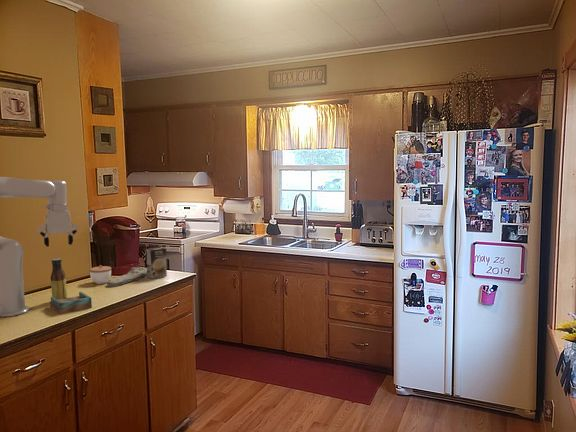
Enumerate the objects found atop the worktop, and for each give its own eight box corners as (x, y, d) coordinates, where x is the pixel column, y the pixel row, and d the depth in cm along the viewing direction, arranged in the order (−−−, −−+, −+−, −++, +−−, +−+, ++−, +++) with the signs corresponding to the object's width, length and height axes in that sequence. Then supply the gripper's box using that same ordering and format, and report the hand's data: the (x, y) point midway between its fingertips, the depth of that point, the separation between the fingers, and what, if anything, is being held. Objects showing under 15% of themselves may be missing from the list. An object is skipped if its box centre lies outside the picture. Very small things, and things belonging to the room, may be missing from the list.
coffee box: (151, 279, 256) (150, 250, 254) (146, 276, 261) (145, 248, 259) (167, 276, 262) (166, 248, 260) (162, 274, 267) (161, 246, 265)
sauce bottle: (62, 298, 219) (59, 257, 217) (70, 300, 216) (68, 258, 213) (49, 302, 213) (46, 259, 211) (57, 304, 210) (54, 260, 208)
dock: (60, 313, 196) (59, 303, 195) (50, 306, 206) (50, 296, 206) (91, 307, 205) (91, 297, 204) (81, 300, 215) (80, 291, 214)
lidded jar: (88, 285, 242) (87, 267, 241) (92, 280, 253) (91, 263, 252) (110, 284, 244) (109, 267, 243) (113, 279, 255) (112, 262, 254)
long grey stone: (101, 289, 241) (117, 291, 238) (101, 279, 240) (117, 282, 237) (142, 271, 274) (157, 273, 271) (142, 262, 273) (157, 264, 270)
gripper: (38, 209, 202) (39, 248, 204) (80, 207, 213) (81, 244, 215) (34, 208, 208) (35, 245, 209) (75, 206, 219) (76, 242, 220)
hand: (58, 245), depth 212 cm, fingers open, 9 cm apart
